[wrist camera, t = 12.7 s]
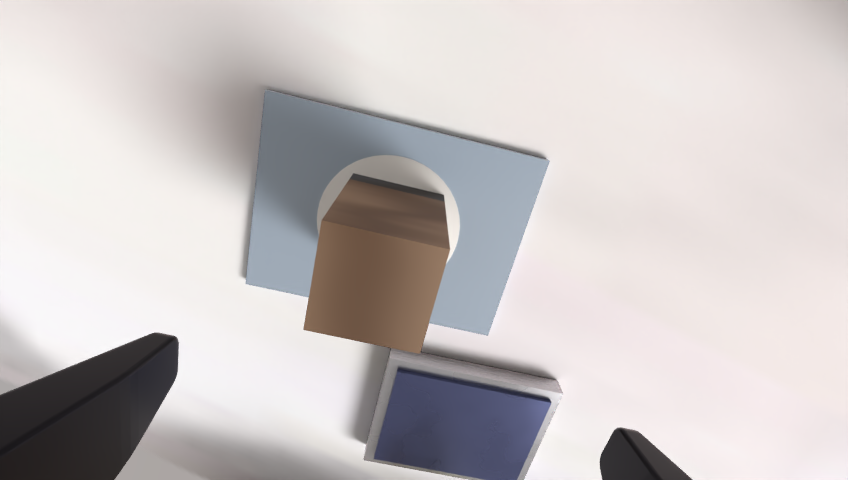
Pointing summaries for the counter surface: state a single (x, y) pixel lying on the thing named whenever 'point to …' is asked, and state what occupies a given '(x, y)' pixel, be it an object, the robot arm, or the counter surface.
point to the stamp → (379, 264)
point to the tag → (398, 163)
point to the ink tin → (459, 417)
